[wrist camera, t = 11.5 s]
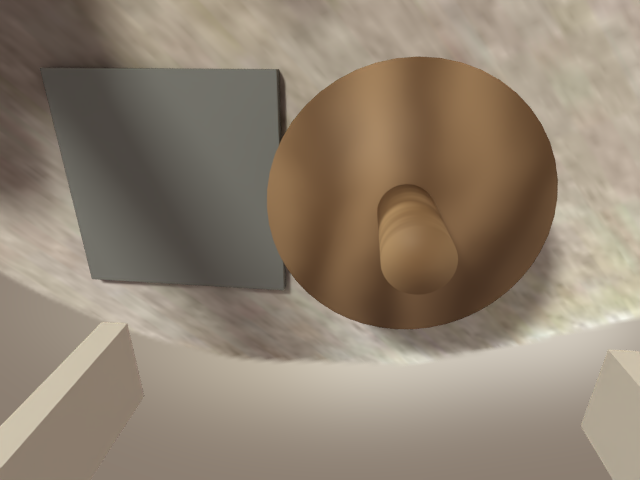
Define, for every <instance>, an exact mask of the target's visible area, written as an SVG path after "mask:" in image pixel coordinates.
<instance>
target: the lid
mask: <svg viewBox="0 0 640 480" xmlns="http://www.w3.org/2000/svg"><path fill="white" fill-rule="evenodd" d="M557 185H558V178H557V171H556V163H555V158H554V155H553V151H552V148H551V144H550V141H549V139H548V137H547V135H546V133H545V131H544V129H543V126H542V124H541V123H540V121H539V120H538V118H537V117H536V115H535V114H534V112H533V111H532V110H531V108H530V107H529V106H528V105H527V104H526V103H525V102H524V101H523V99H522V98H521V97H520V96H519V95H518V94H517V93H516V92H515V91H513V90H512V89H511V88H509V87H508V86H507V85H506V84H504V83H503V82H502V81H500V80H499V79H497V78H495V77H493V76H491V75H490V74H488V73H486V72H484V71H483V70H480V69H477V68H475V67H472V66H469V65H467V64H464V63H461V62H456V61H452V60H447V59H442V58H431V57H408V58H396V59H391V60H387V61H382V62H378V63H374V64H371V65H369V66H366V67H363V68H360V69H358V70H355V71H353V72H351V73H349V74H348V75H346V76H344V77H342V78H340V79H338V80H336V81H335V82H334V83H332V84H331V85H329V86H328V87H327V88H325V89H324V90H322V91H321V92H320V93H318V94H317V95H316V96H315V97H314V98H313V99H312V100H311V101H310V102H309V103H308V104H307V105H306V106H305V107H304V108H303V109H302V110H301V112H300V113H299V114H298V115H297V116H296V118H295V119H294V120H293V121H292V123H291V125H290V126H289V128H288V129H287V131H286V133H285V134H284V136H283V138H282V140H281V142H280V144H279V147H278V149H277V151H276V153H275V156H274V159H273V163H272V166H271V170H270V174H269V181H268V187H267V212H268V220H269V226H270V230H271V233H272V237H273V241H274V243H275V245H276V248H277V250H278V253H279V255H280V257H281V259H282V260H283V262H284V264H285V266H286V267H287V269H288V270H289V272H290V273H291V274H292V276H293V277H294V278H295V280H296V281H297V282H298V283H299V284H300V285H301V286H302V287H303V288H304V289H305V290H306V291H307V292H308V293H309V294H310V295H311V296H312V297H314V298H315V299H316V300H317V301H319V302H320V303H321V304H323V305H324V306H326V307H328V308H329V309H331V310H332V311H334V312H336V313H338V314H340V315H342V316H344V317H347V318H349V319H352V320H355V321H357V322H360V323H363V324H367V325H372V326H376V327H382V328H391V329H419V328H429V327H433V326H438V325H443V324H447V323H450V322H453V321H456V320H459V319H462V318H464V317H467V316H469V315H471V314H473V313H475V312H478V311H479V310H481V309H483V308H484V307H486V306H488V305H490V304H491V303H493V302H494V301H496V300H497V299H498V298H500V297H501V296H502V295H503V294H505V293H506V292H507V291H508V290H509V289H510V288H512V287H513V286H514V285H515V284H516V283H517V282H518V281H519V280H520V279H521V278H522V276H523V275H524V274H525V273H526V271H527V270H528V269H529V268H530V267H531V265H532V264H533V262H534V261H535V259H536V257H537V256H538V254H539V253H540V251H541V249H542V247H543V245H544V243H545V241H546V239H547V236H548V234H549V231H550V228H551V225H552V222H553V219H554V214H555V208H556V202H557Z"/></svg>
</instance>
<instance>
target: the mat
mask: <svg viewBox="0 0 640 480" xmlns="http://www.w3.org/2000/svg"><path fill="white" fill-rule="evenodd" d="M40 70H41V74H42V78H43V83H44V87H45V91H46V95H47V99H48V103H49V107H50V111H51V115H52V119H53V123H54V127H55V131H56V135H57V139H58V143H59V147H60V151H61V155H62V159H63V163H64V168H65V172H66V176H67V180H68V184H69V188H70V192H71V196H72V200H73V204H74V208H75V212H76V216H77V220H78V224H79V228H80V232H81V236H82V240H83V244H84V249H85V253H86V257H87V261H88V265H89V269H90V273H91V277H92V279H100V280H117V281H134V282H151V283H168V284H185V285H202V286H219V287H236V288H253V289H269V290H284V289H285V286H286V282H285V264H284V262H283V260H282V259H281V257H280V255H279V253H278V250H277V248H276V245H275V243H274V241H273V237H272V233H271V230H270V226H269V220H268V212H267V187H268V181H269V174H270V170H271V166H272V163H273V159H274V156H275V153H276V151H277V149H278V147H279V144H280V142H281V127H280V96H279V69H165V68H40Z"/></svg>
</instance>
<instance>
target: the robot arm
mask: <svg viewBox="0 0 640 480" xmlns="http://www.w3.org/2000/svg"><path fill="white" fill-rule="evenodd" d="M143 397H144V393H143V388H142V384H141V380H140V376H139V371H138V367H137V363H136V358H135V354H134V350H133V346H132V342H131V338H130V333H129V329H128V324H127V323H109V322H102V323H101V324H100V325H99V326H98V327H97V328H96V329H95V330H94V331H93V332H92V333H91V334H90V335H89V336H88V337H87V338H86V339H85V340H84V341H83V342H82V343H81V344H80V345H79V346H78V347H77V348H76V349H75V350H74V351H73V352H72V353H71V354H70V356H68V357H67V359H65V360H64V362H63V363H62V364H61V365H60V366H59V367H58V368H57V369H56V370H55V371H54V372H53V373H52V374H51V375H50V376H49V377H48V378H47V379H46V380H45V381H44V382H43V383H42V384H41V385H40V386H39V387H38V388H37V389H36V390H35V391H34V392H33V393H32V394H31V395H30V396H29V397H28V398H27V400H25V402H24V403H23V404H22V405H21V406H20V407H19V408H18V409H17V410H16V411H15V412H14V413H13V414H12V415H11V416H10V417H9V418H8V419H7V420H6V421H5V422H4V423H3V424H2V425H1V426H0V480H91V479H92V477H93V476H94V474H95V472H96V471H97V469H98V468H99V466H100V465H101V463H102V462H103V460H104V458H105V457H106V455H107V454H108V452H109V450H110V449H111V447H112V446H113V444H114V443H115V441H116V440H117V438H118V436H119V435H120V433H121V432H122V430H123V429H124V427H125V425H126V424H127V422H128V421H129V419H130V418H131V416H132V414H133V413H134V411H135V410H136V408H137V407H138V405H139V403H140V402H141V400H142V399H143ZM581 428H582V429H583V431H584V433H585V434H586V436H587V438H588V439H589V441H590V443H591V444H592V446H593V448H594V449H595V451H596V452H597V454H598V456H599V458H600V459H601V461H602V463H603V464H604V466H605V468H606V469H607V471H608V473H609V474H610V476H611V478H612V479H613V480H640V352H639V351H626V350H608V351H607V354H606V357H605V359H604V362H603V365H602V368H601V371H600V374H599V376H598V379H597V382H596V385H595V388H594V390H593V393H592V396H591V399H590V402H589V404H588V407H587V410H586V413H585V415H584V418H583V421H582V424H581Z"/></svg>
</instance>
